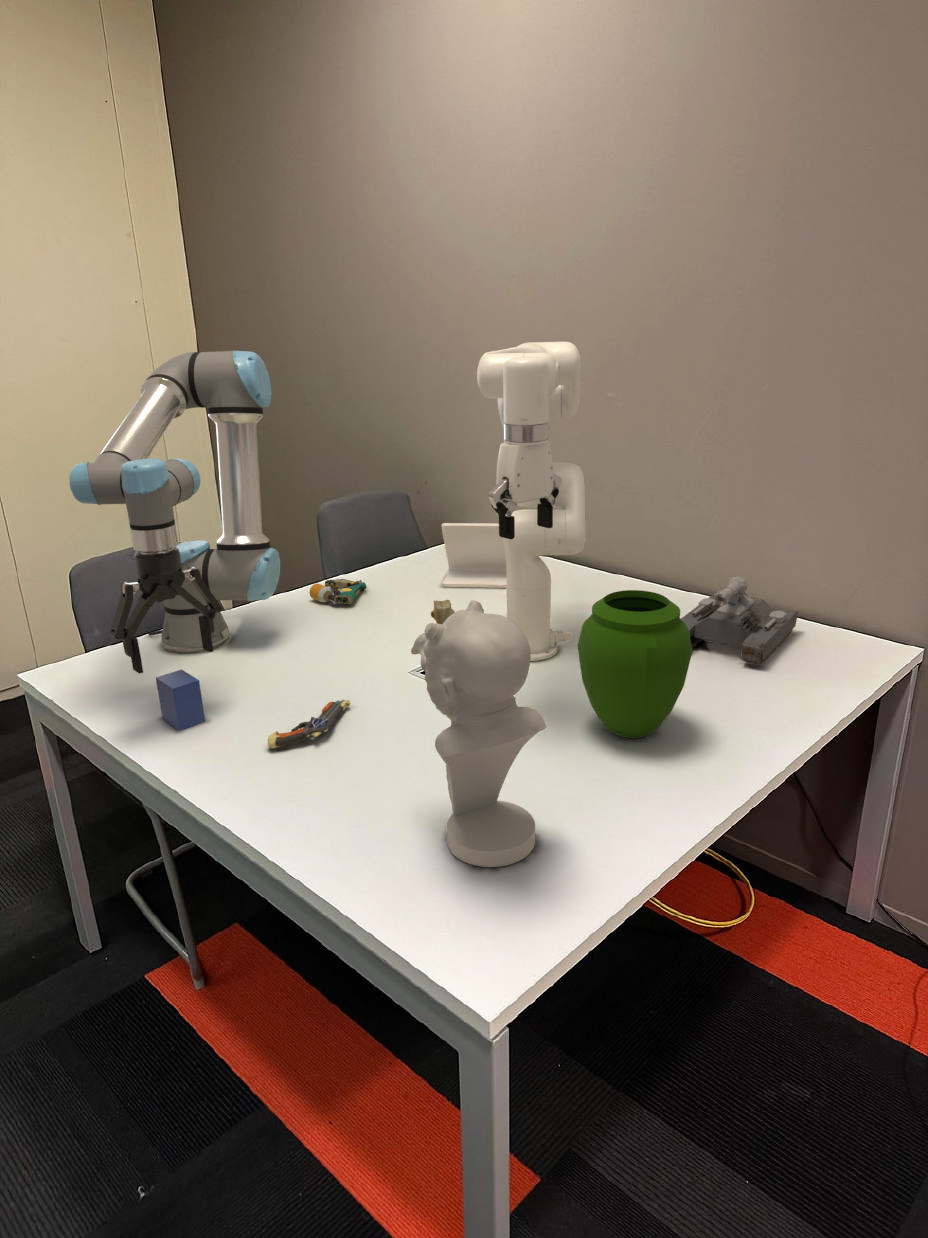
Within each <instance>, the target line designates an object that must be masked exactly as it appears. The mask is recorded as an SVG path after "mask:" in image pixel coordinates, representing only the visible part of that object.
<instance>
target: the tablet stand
mask: <svg viewBox="0 0 928 1238" xmlns="http://www.w3.org/2000/svg"><path fill="white" fill-rule="evenodd" d="M441 533H442V538H443V543H444V548H445V549H444V550H445V554H446V558H447V565H448V571H447V573H446V575H445V576H444V579H443V580H442V587H445V588H450V587H451V588H490V589H491V588H492V589H494V588H495V589H497V588H498V589H502V588H503V589H507V574H506V557H505V550H504V544H503V538H502V537H500V536H499V523H490V522H489V523H482V522H480V523H479V522H470V523H469V522H462V523H461V522H443V523H442V524H441Z"/></svg>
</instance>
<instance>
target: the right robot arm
mask: <svg viewBox="0 0 928 1238" xmlns="http://www.w3.org/2000/svg"><path fill="white" fill-rule="evenodd" d="M476 382H477V386H478V390H479V392H480V394H481V395H482V396H483V397H484V398H486V399H491V400H492V399H495V400H497V409H498V415H499V419H500V423H501V426H502V430H503V442H502V443H500V446H499V450H498V454H497V455H498V456H497V463H496V476H495V477H496V478H495V479H496V480H495V486H494V487H492V489H490V490H489V491H488V493H487V498H488V500H489V502H490V505H491V508H492V509H493V510H494V511H495V514H496V515H498V524H499V536H500V537H502V538H503V544H504V550H505V557H506V574H507V588H506V617H507V618H509V619H511V620H512V621H513V622H514V623H515V624H516V625H517V626H518V627H519V628H520V629H521V630H522V632H523V633H524V634H525V636H526V638H527V640H528V643H529V646H530V652H531V653H530V655H531V656H530V662H535V661H536V662H537V661H543V660H547V659H550V658H552V657H554V656H555V655H556V654H557V652H558V643H559V642H568V641H569V642H570V641H572V640H573V633H572V632H571V631H563V629H556V630H553V629H552V628H551V625H552V621H551V618H552V616H551V613H552V609H551V608H552V575H551V571H550V569H549V567H548V566H547V564H546V562H544V560H542V558H541V557H542V556H573V555H578V554H579V553H581V552H582V551H584V548H585V545H586V540H587V521H586V485H585V483H586V482H585V476H584V472H583V469H582V468H581V467H580V465H579V464H576V463H574V462H568V461H567V462H566V461H565V462H563V461H561V462H560V461H559V462H558V461H557V462H553V455H552V447H551V441H550V440H549V430H550V424H549V420H568V419H571V418H573V417H575V416H576V415H577V413H578V412H579V409H580V403H581V383H582V360H581V354H580V352H579V349H578V348H577V346H576V345H575V344H574V343H573V342H570V341H539V342H538V341H537V342H535V341H534V342H533V341H532V342H530V341H529V342H524V343H521V344H519V345H517V346H513V347H509V348H504V349H498V350H491V351H487V352H484V353H483V354H482V356H481V357H480V359H479V361H478V364H477V371H476ZM517 506H518V507H521V508H527V509H517V510H515V509H516V507H517ZM528 508H529V509H528ZM531 508H532V509H531ZM534 508H535V509H534ZM554 508H558V509H554ZM540 556H541V557H540Z"/></svg>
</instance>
